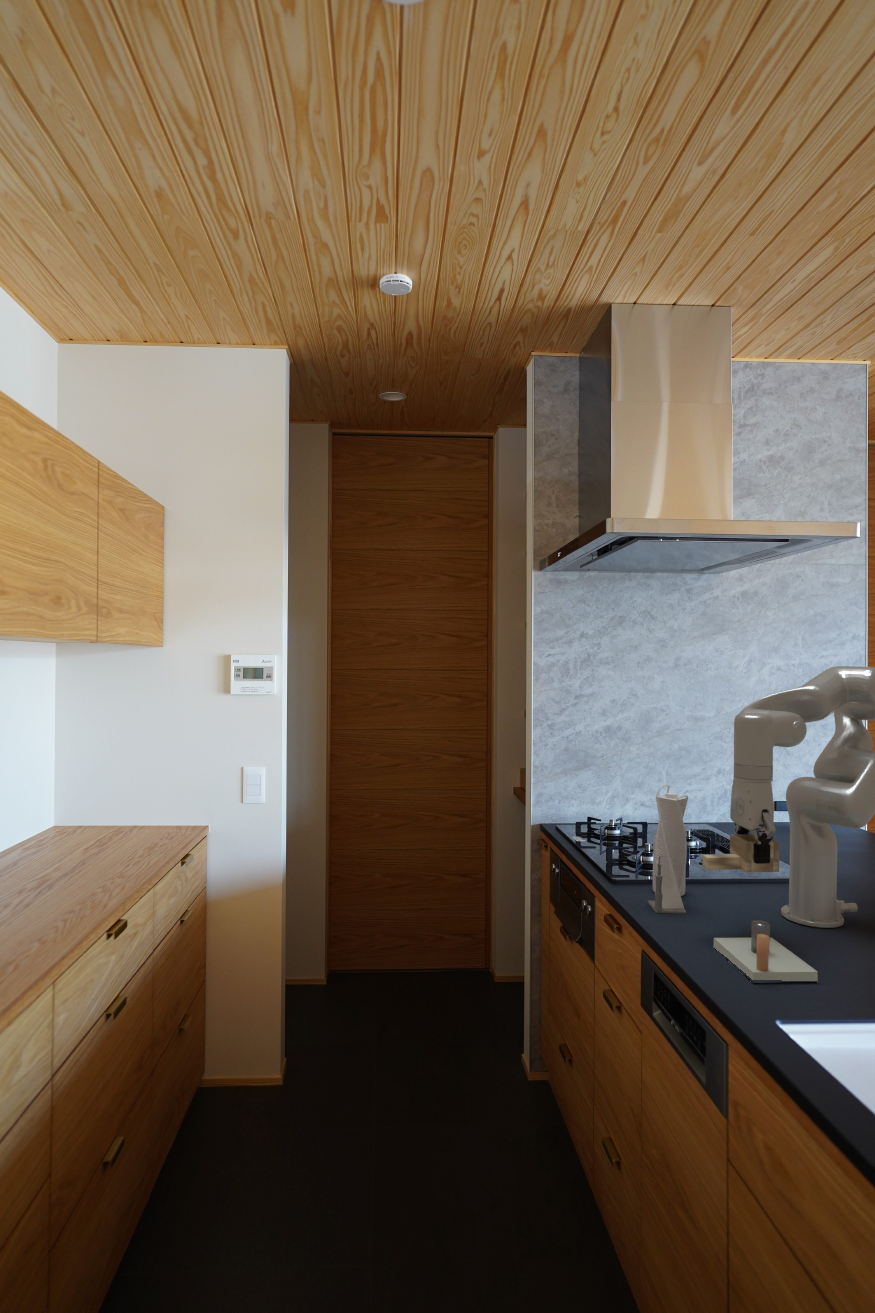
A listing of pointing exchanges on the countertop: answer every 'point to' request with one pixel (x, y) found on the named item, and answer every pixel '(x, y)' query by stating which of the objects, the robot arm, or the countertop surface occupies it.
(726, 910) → the countertop surface
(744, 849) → the open wooden box
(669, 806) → the skyscraper
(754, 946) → the post
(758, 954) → the dowel
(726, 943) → the board
